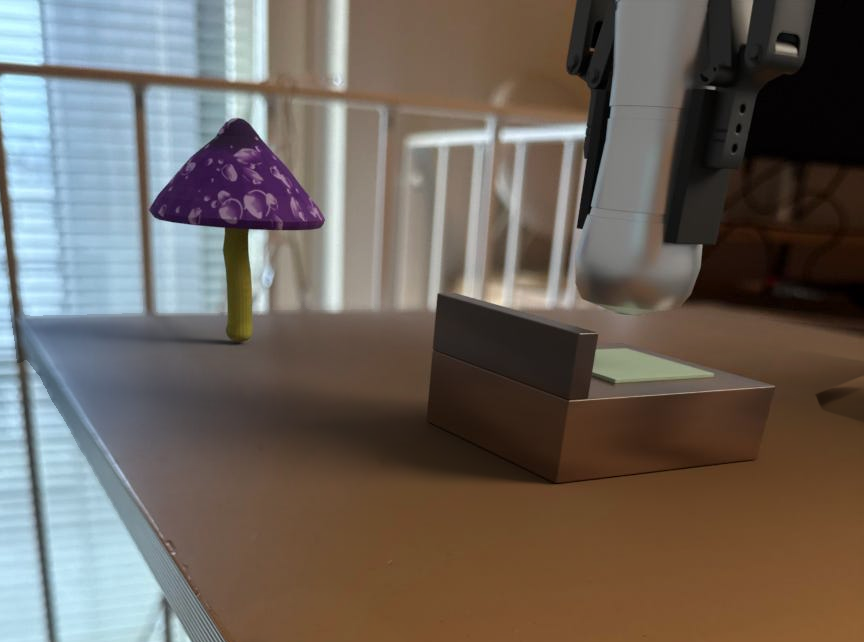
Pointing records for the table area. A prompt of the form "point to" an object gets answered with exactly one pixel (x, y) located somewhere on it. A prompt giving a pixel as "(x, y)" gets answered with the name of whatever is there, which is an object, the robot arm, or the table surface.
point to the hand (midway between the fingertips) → (643, 235)
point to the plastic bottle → (644, 161)
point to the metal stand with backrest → (583, 397)
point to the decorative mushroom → (237, 205)
